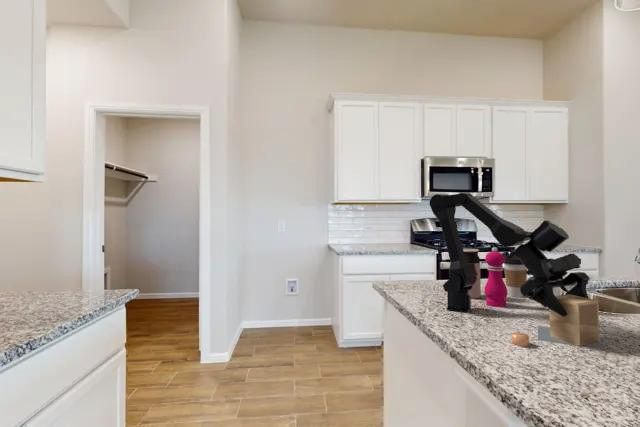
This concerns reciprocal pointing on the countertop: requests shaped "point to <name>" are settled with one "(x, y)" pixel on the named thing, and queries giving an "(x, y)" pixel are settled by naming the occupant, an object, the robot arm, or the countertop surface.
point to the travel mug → (473, 257)
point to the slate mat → (545, 336)
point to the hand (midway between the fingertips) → (579, 313)
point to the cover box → (576, 320)
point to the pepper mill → (495, 280)
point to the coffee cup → (514, 276)
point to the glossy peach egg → (520, 339)
